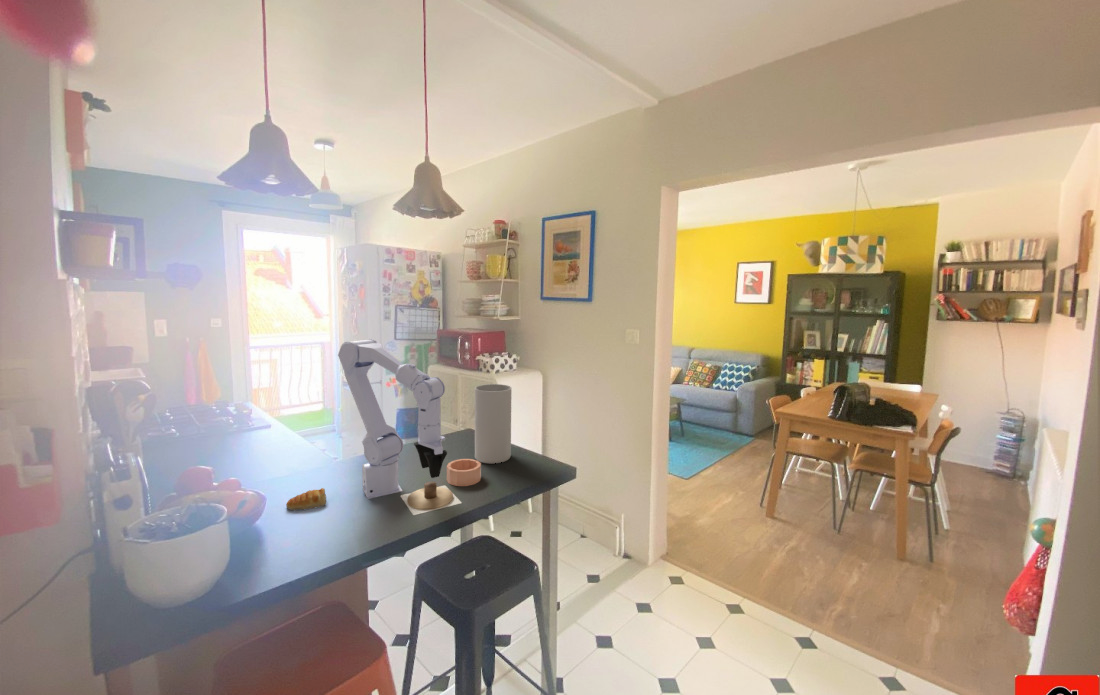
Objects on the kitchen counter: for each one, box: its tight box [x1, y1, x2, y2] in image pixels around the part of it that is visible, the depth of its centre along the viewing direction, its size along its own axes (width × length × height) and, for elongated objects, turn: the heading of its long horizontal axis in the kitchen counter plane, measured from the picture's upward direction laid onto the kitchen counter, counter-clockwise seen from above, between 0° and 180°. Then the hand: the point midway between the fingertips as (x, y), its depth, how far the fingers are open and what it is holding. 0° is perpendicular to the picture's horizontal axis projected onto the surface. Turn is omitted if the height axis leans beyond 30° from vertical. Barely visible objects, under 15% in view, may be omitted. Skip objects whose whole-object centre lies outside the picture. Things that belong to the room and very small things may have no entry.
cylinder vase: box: [474, 383, 512, 465], centre depth 151 cm, size 12×12×25 cm
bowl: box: [446, 458, 482, 487], centre depth 133 cm, size 10×10×5 cm
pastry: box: [286, 487, 327, 511], centre depth 116 cm, size 9×7×4 cm
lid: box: [407, 481, 454, 510], centre depth 119 cm, size 12×12×4 cm
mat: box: [399, 484, 463, 516], centre depth 119 cm, size 13×13×1 cm
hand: (430, 471), depth 119 cm, fingers open, 7 cm apart
